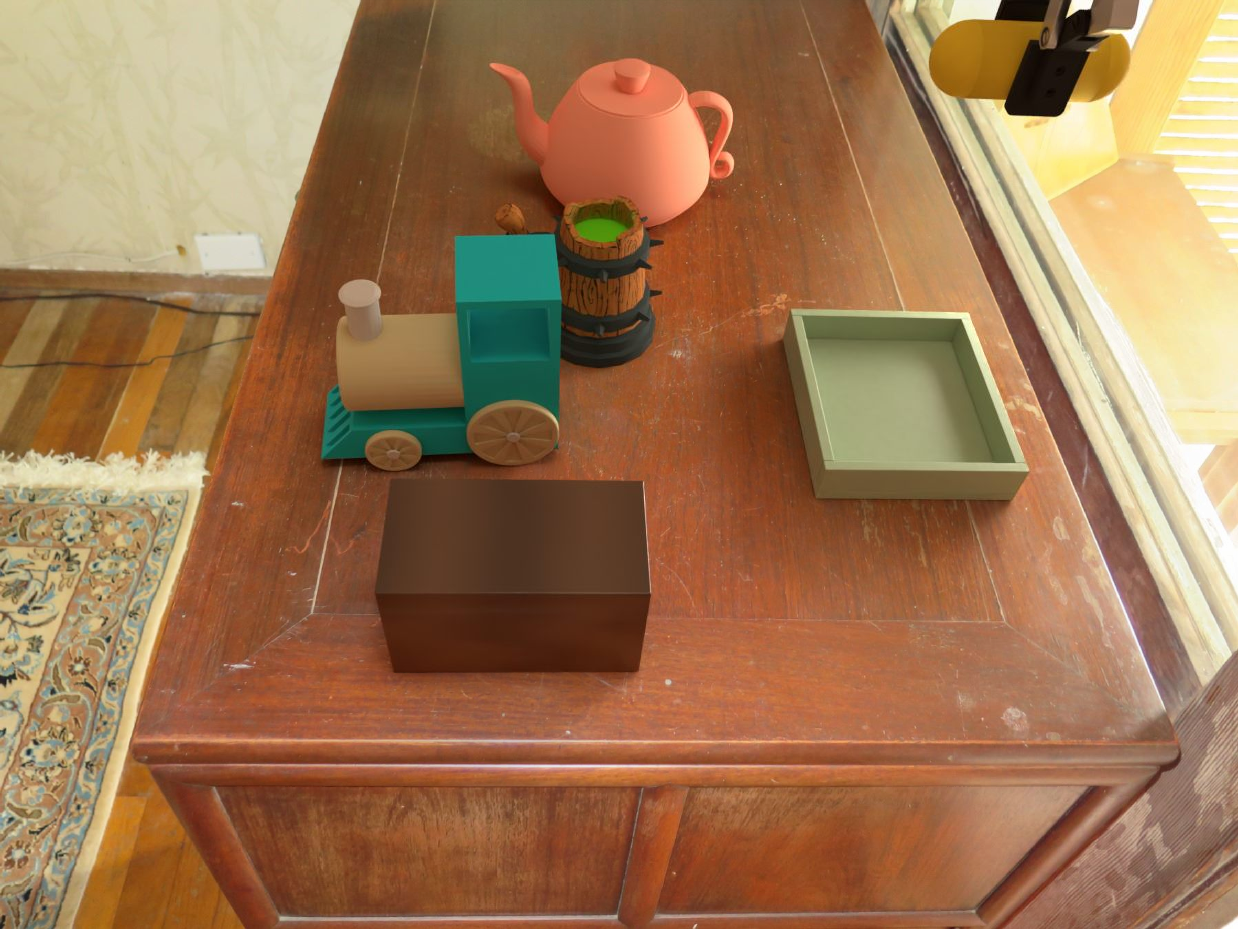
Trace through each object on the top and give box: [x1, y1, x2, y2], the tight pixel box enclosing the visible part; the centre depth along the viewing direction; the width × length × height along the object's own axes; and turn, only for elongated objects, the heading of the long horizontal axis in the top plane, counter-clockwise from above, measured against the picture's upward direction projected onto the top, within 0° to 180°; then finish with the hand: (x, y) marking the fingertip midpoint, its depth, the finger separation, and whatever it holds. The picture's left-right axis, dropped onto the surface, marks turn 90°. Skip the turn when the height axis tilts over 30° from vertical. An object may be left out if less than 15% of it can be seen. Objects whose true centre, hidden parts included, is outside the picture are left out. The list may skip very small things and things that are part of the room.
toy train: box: [320, 233, 562, 472], centre depth 67 cm, size 8×17×15 cm, turn 96°
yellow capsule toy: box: [928, 18, 1132, 104], centre depth 54 cm, size 11×4×4 cm, turn 92°
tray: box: [782, 308, 1030, 501], centre depth 75 cm, size 17×15×3 cm
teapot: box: [489, 57, 735, 229], centre depth 88 cm, size 22×16×12 cm
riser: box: [374, 477, 652, 673], centre depth 60 cm, size 15×8×9 cm, turn 92°
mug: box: [493, 195, 665, 369], centre depth 76 cm, size 13×10×12 cm
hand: (1019, 86), depth 55 cm, fingers closed on yellow capsule toy, 4 cm apart
